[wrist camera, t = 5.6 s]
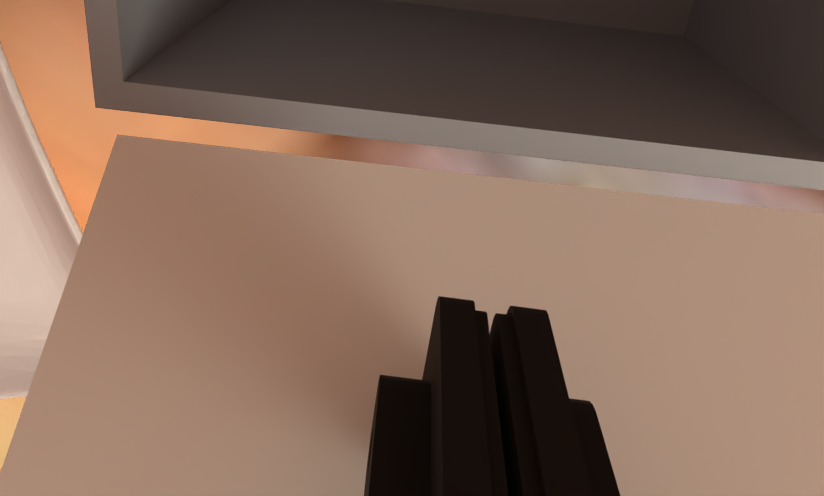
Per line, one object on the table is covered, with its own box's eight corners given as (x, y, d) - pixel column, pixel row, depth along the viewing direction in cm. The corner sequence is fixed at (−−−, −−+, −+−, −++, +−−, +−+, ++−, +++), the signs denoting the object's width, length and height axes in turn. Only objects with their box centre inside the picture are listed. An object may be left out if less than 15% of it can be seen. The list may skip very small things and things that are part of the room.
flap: (964, 685, 11) (936, 683, 11) (848, 216, 15) (830, 231, 15) (-42, 593, 10) (-23, 595, 11) (117, 134, 14) (125, 152, 15)
